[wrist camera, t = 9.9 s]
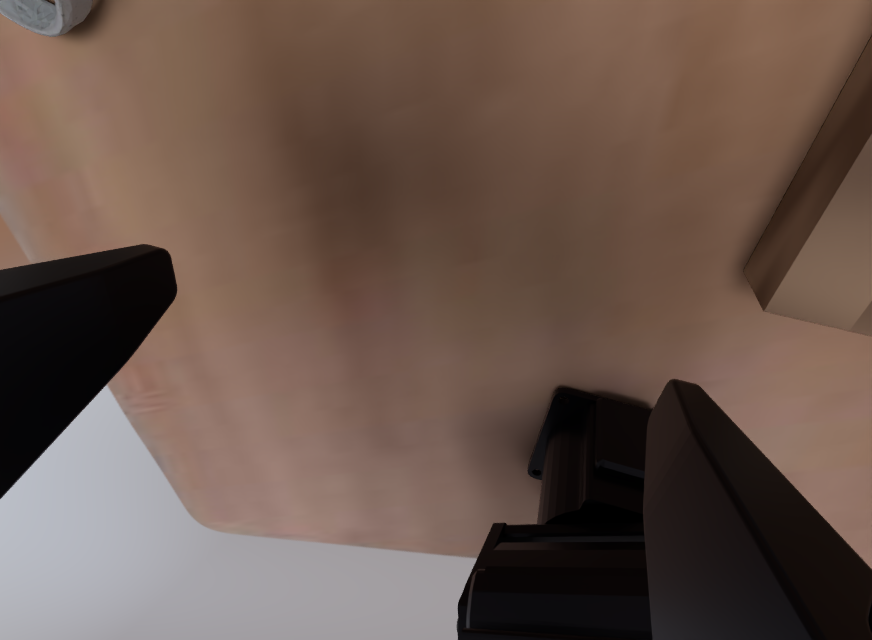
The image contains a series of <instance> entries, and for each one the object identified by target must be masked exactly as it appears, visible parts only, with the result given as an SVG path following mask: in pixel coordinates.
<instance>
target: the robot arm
mask: <svg viewBox="0 0 872 640" xmlns="http://www.w3.org/2000/svg"><path fill="white" fill-rule="evenodd" d="M176 294H177V284H176V279H175V274H174V269H173V264H172V259H171V256H170V254H169V252H168V251H167V250H165V249H163V248H160V247H156V246H152V245H148V244H141V245H136V246H130V247H124V248H119V249H113V250H108V251H102V252H97V253H91V254H86V255H80V256H75V257H69V258H64V259H58V260H52V261H47V262H41V263H36V264H30V265H25V266H19V267H14V268H8V269H3V270H0V499H1V498H2V497H3V496H4V495H5V494H6V493H7V491H8V490H9V489H10V488H11V487H12V486H13V485H14V484H15V483H16V482H17V480H19V479H20V477H21V476H22V475H23V474H24V473H25V472H26V471H27V470H28V469H29V468H30V467H31V465H32V464H33V463H34V462H35V461H36V460H37V459H38V458H39V457H40V456H41V455H42V454H43V453H44V452H45V450H46V449H47V448H48V447H49V446H50V445H51V444H52V443H53V442H54V441H55V440H56V438H57V437H58V436H59V435H60V434H61V433H62V432H63V431H64V430H65V429H66V428H67V427H68V426H69V424H70V423H71V422H72V421H73V420H74V419H75V418H76V417H77V416H78V415H79V414H80V412H81V411H82V410H83V409H84V408H85V407H86V406H87V405H88V404H89V403H90V402H91V401H92V400H93V399H94V398H95V396H96V395H97V394H98V393H99V392H100V391H101V390H102V389H103V388H104V387H105V386H106V385H107V383H108V382H109V381H110V380H111V379H112V378H113V377H114V376H115V375H116V374H117V373H118V372H119V371H120V369H121V368H122V367H123V366H124V365H125V364H126V363H127V361H128V360H129V359H130V358H131V357H132V355H133V354H134V353H135V351H136V350H137V349H138V348H139V346H140V345H141V344H142V342H143V341H144V340H145V338H146V337H147V336H148V334H149V333H150V332H151V330H152V329H153V328H154V326H155V325H156V324H157V322H158V321H159V320H160V318H161V317H162V316H163V314H164V313H165V312H166V310H167V309H168V308H169V306H170V305H171V304H172V302H173V301H174V299H175V297H176ZM560 397H566V398H568V399H561V398H560ZM535 469H538V470H535ZM528 474H529V475H530V476H531V477H533V478H535V479H539V480H542V485H541V494H540V503H539V512H538V521H537V524H526V525H507V524H506V523H494V524H493V525H492V528H491V530H490V532H489V534H488V536H487V539H486V541H485V543H484V545H483V547H482V550H481V552H480V554H479V556H478V558H477V561H476V563H475V565H474V567H473V569H472V572H471V574H470V576H469V578H468V580H467V583H466V585H465V588H464V590H463V593H462V595H461V597H460V600H459V602H458V621H457V632H458V640H872V569H871V568H870V567H869V566H868V565H867V564H866V563H865V562H864V560H863V559H862V558H861V557H860V556H859V555H858V554H857V553H856V552H855V551H854V550H853V549H852V548H851V547H850V546H849V544H848V543H847V542H846V541H845V540H844V539H843V538H842V537H841V536H840V535H839V534H838V533H837V532H836V531H835V530H834V529H833V527H832V526H831V525H830V524H829V523H828V522H827V521H826V520H825V519H824V518H823V517H822V516H821V515H820V514H819V513H818V511H817V510H816V509H815V508H814V507H813V506H812V505H811V504H810V503H809V502H808V501H807V500H806V499H805V498H804V497H803V496H802V494H801V493H800V492H799V491H798V490H797V489H796V488H795V487H794V486H793V485H792V484H791V483H790V482H789V481H788V480H787V478H786V477H785V476H784V475H783V474H782V473H781V472H780V471H779V470H778V469H777V468H776V467H775V466H774V465H773V464H772V463H771V461H770V460H769V459H768V458H767V457H766V456H765V455H764V454H763V453H762V452H761V451H760V450H759V449H758V448H757V447H756V445H755V444H754V443H753V442H752V441H751V440H750V439H749V438H748V437H747V436H746V435H745V434H744V433H743V432H742V431H741V430H740V428H739V427H738V426H737V425H736V424H735V423H734V422H733V421H732V420H731V419H730V418H729V417H728V416H727V415H726V414H725V412H724V411H723V410H722V409H721V408H720V407H719V406H718V405H717V404H716V403H715V402H714V401H713V400H712V399H711V398H710V397H709V395H708V394H707V393H706V392H705V391H704V390H703V389H702V388H701V387H700V386H699V385H697V384H694V383H690V382H686V381H682V380H678V379H672V380H670V381H669V382H668V383H667V384H666V386H665V388H664V390H663V391H662V393H661V395H660V397H659V399H658V401H657V403H656V405H655V407H654V409H653V411H652V410H648V409H644V408H640V407H637V406H633V405H629V404H625V403H622V402H618V401H614V400H610V399H607V398H603V397H599V396H595V395H591V394H588V393H584V392H580V391H576V390H573V389H569V388H563V387H562V388H558V389H557V390H555V392H554V394H553V397H552V399H551V402H550V405H549V408H548V411H547V414H546V416H545V419H544V422H543V425H542V428H541V430H540V433H539V436H538V439H537V442H536V445H535V447H534V450H533V453H532V456H531V459H530V461H529V464H528Z"/></svg>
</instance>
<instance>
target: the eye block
mask: <svg viewBox="0 0 872 640" xmlns="http://www.w3.org/2000/svg"><path fill="white" fill-rule="evenodd" d="M743 272H744V274H745V276H746V278H747V280H748V282H749V284H750V286H751V287H752V289H753V291H754V293H755V295H756V297H757V299H758V301H759V303H760V305H761V307H762V309H763V311H764V312H768V313H772V314H777V315H781V316H785V317H790V318H794V319H798V320H802V321H807V322H811V323H815V324H820V325H824V326H828V327H833V328H837V329H841V330H846V331H850V332H854V333H859V334H863V335H867V336H872V37H871V39H870V40H869V42H868V44H867V46H866V48H865V49H864V51H863V53H862V55H861V57H860V59H859V60H858V62H857V64H856V66H855V68H854V70H853V71H852V73H851V75H850V77H849V79H848V81H847V82H846V84H845V86H844V88H843V90H842V91H841V93H840V95H839V97H838V99H837V101H836V102H835V104H834V106H833V108H832V110H831V112H830V113H829V115H828V117H827V119H826V121H825V123H824V124H823V126H822V128H821V130H820V132H819V133H818V135H817V137H816V139H815V141H814V143H813V144H812V146H811V148H810V150H809V152H808V154H807V155H806V157H805V159H804V161H803V163H802V165H801V166H800V168H799V170H798V172H797V174H796V175H795V177H794V179H793V181H792V183H791V185H790V186H789V188H788V190H787V192H786V194H785V196H784V197H783V199H782V201H781V203H780V205H779V207H778V208H777V210H776V212H775V214H774V216H773V217H772V219H771V221H770V223H769V225H768V227H767V228H766V230H765V232H764V234H763V236H762V238H761V239H760V241H759V243H758V245H757V247H756V249H755V250H754V252H753V254H752V256H751V258H750V259H749V261H748V263H747V265H746V267H745V269H744V270H743Z"/></svg>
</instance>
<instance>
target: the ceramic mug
mask: <svg viewBox="0 0 872 640" xmlns="http://www.w3.org/2000/svg"><path fill="white" fill-rule="evenodd" d="M54 1H55V5H54V4H52V3H49V2H47V1H45V0H0V13H1V14H3V15H4V16H6V17H7V18H8V19H10V20H12V21H13V22H15V23H17V24H19V25H20V26H22V27H24V28H26V29H28V30H30V31H33V32H35V33H38V34H41V35H45V36H49V37H56V36H59V35H62V34H65V33H67V32H68V31H69V30H71V29H72V28H73V27H74V26H76V25H77V24H79V23H81V22H83V21H84V19H85V18H86V17H87V15H88V14H89V12H90V11H91V7H92V3H93V0H54Z"/></svg>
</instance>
